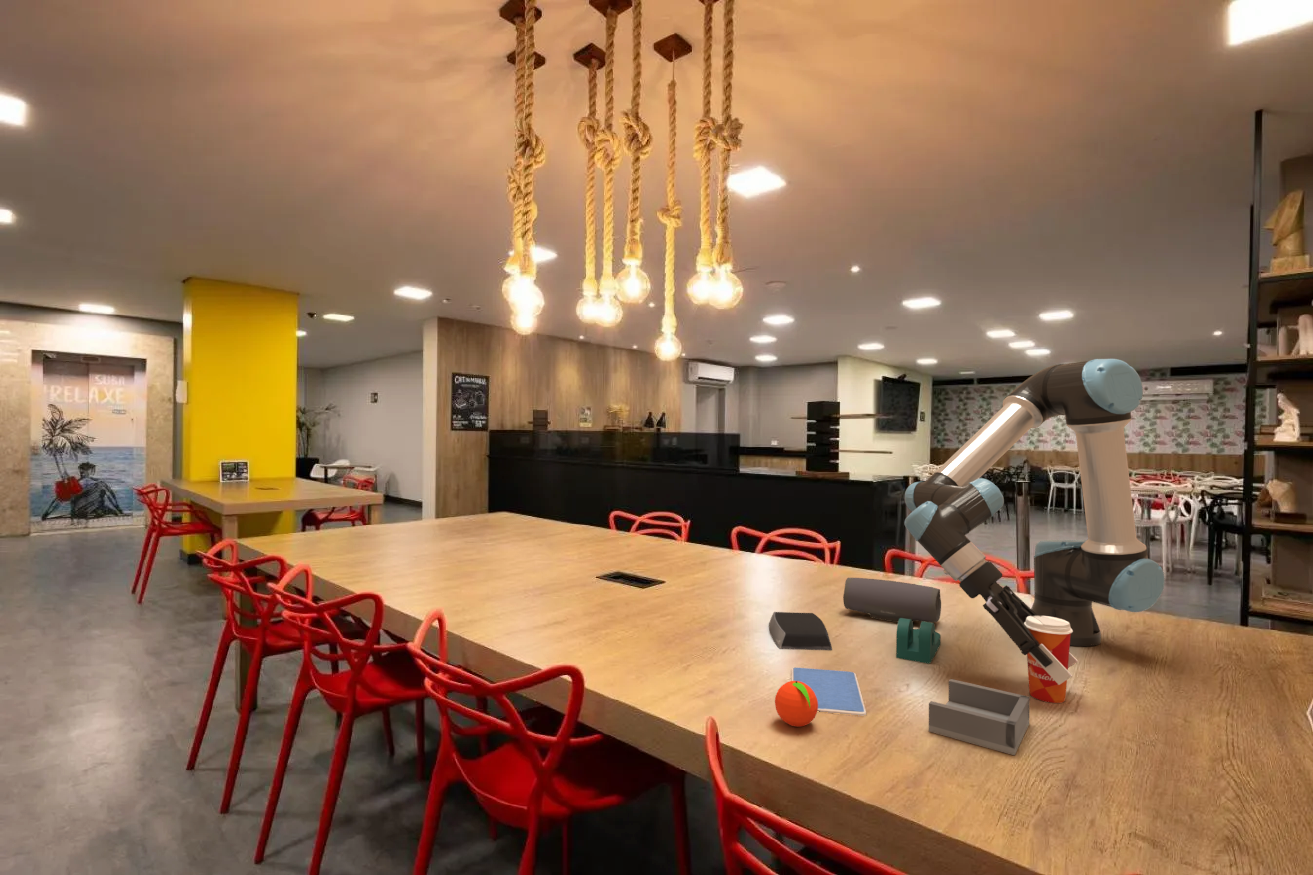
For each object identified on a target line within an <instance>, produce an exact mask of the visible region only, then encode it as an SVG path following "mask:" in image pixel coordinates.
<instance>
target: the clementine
mask: <svg viewBox="0 0 1313 875" xmlns="http://www.w3.org/2000/svg"><path fill="white" fill-rule="evenodd" d="M774 697H775V698H774V706H775V710H776V713H777V715H778V716H779V718H780V719H781V720H782V721H783V722H785V723H786V724H787V725H789V726H792V727H798V728H800V727H804V726H807V725H808V724H810V723H812V722H813V721H814V719H815V717H816V716H817V714H818V712H817V710H818V701H817V698H816V695H815V693H814V691H813V690H812V689H811V688H810V687H809V686H808V685H806V684H805V683H803V682H800V681H791V680H789V681H787V682H785V683H784V684H782V685H781V686H780V687H779V689H778V690H777V693H776V694H775V696H774Z"/></svg>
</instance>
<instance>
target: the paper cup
mask: <svg viewBox="0 0 1313 875" xmlns="http://www.w3.org/2000/svg"><path fill="white" fill-rule="evenodd" d="M1024 624H1025V625H1026V627H1027V628H1028V629H1029V631H1030V632H1031V633H1032V635H1033V636H1034V637H1035V639H1036V640H1037V641H1038V642H1039V644H1043V645H1044V646H1045V647H1046V648H1047V649H1048V650H1049V651H1050V652H1051V653H1052V654H1053V655H1054V657H1055V658H1056V659H1057V660H1058V661H1059V662H1060V663H1061V664H1062V665H1063V666H1064V667H1065V668H1066V669H1067V670H1068V671H1069V668H1068V661H1069V652H1070V648H1071V647H1070V646H1071V645H1070V635H1071V633H1072V632H1073V630H1072V629H1071V627H1070V623H1069V622H1067V621H1065V620H1063V619H1059V618H1055V617H1049V616H1041V617H1040V616H1033V617H1032V616H1028V617H1027V618H1026V622H1024ZM1026 655H1027V656H1026V660H1027V661H1026V662H1027V675H1028V676H1027V677H1028V691H1029V696H1031V697H1032V698H1033V699H1034V700H1035V699H1036V700H1038V701H1041V702H1045V703H1048V704H1049V703H1050V704H1062V703H1064V702H1066V695H1067V684H1068V680H1066V681H1064V682H1063V683H1061V684H1060V685H1058V683H1057V682H1056V681H1055V680H1054V679H1053V678H1052V677H1051V676H1050V675H1049V674H1048V673H1047V672H1046V671H1045V670H1044V668H1043V667H1042V666H1041V665H1040V664H1039V663H1038V662H1037V661H1036V660H1035V659H1034V658H1033V657H1032V656H1031V655H1030V654H1029V653H1028V654H1026Z"/></svg>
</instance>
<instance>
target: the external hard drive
mask: <svg viewBox="0 0 1313 875" xmlns="http://www.w3.org/2000/svg"><path fill="white" fill-rule="evenodd" d="M768 630H769V633H770V636H771V639H772V640H773V642H774V644H775V645H776V647H777V648H778V649H780V650H803V651H804V650H806V651H808V650H809V651H833V647H832V642H831V640H830V637H829V636H830V635H829V632H828V630H827V628H826V625H825V623H824V622H823V621H822V620H821V618H820V617H819V616H818V615H817V614H816V613H813V612H788V611H787V612H785V611H774V612H773V613H772V615H771V618H770V621H769V622H768Z"/></svg>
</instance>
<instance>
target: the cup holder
mask: <svg viewBox="0 0 1313 875" xmlns="http://www.w3.org/2000/svg"><path fill="white" fill-rule="evenodd" d="M1030 701H1031V698H1030V696H1027V695H1023V694H1019V693H1014V692H1010V691H1005V690H1001V689H997V688H992V687H987V686H984V685H979V684H976V683H975V684H974V683H970V682H966V681H962V680H958V679H957V680H956V679H954V678H953V679H952V678H950V679H949V680H948V701H947V702H946V703H940V702H937V701H932V700H930V701H929V702H928V732H929V733H930V732H931V733H934V734H937V735H939V736H940V735H941V736H944V737H947V738H950V739H955V740H959V741H962V742H965V743H968V744H973V745H976V746H979V747H983V748H986V749H989V750H993V751H997V752H1001V753H1005V754H1009V755H1012V756H1015V755H1016V754H1017V751H1018V749H1019V746H1020V745H1021V744H1022V741H1023V738H1024V736H1025V734H1026V733H1027V730H1028V728H1029V726H1030Z"/></svg>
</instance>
